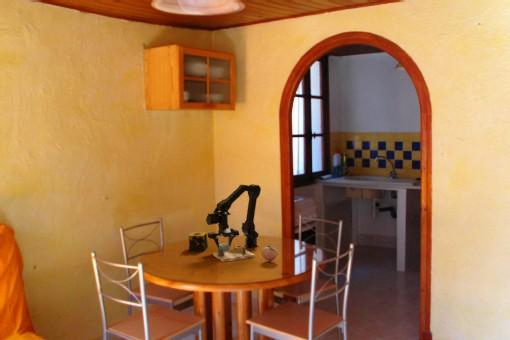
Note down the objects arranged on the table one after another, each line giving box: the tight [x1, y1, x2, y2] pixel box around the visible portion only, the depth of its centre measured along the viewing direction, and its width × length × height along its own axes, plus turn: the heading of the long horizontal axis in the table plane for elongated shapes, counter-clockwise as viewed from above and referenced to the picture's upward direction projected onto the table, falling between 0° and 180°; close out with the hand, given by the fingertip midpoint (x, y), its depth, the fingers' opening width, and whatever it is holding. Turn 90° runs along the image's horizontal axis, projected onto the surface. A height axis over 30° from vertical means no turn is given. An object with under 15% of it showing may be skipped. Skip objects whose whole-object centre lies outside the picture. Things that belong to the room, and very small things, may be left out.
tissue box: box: [188, 231, 209, 252], centre depth 308 cm, size 10×10×10 cm
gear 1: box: [219, 243, 231, 251], centre depth 301 cm, size 7×7×3 cm
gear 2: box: [232, 244, 246, 253], centre depth 295 cm, size 7×7×3 cm
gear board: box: [212, 244, 256, 263], centre depth 289 cm, size 20×16×5 cm
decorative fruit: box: [261, 244, 279, 263], centre depth 276 cm, size 9×8×10 cm
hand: (223, 247), depth 301 cm, fingers closed on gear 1, 7 cm apart
